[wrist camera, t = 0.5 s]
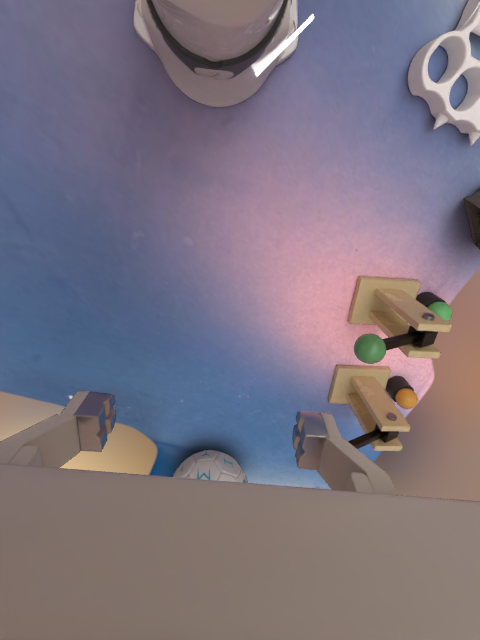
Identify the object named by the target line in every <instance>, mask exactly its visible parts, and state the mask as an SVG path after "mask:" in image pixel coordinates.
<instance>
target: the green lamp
mask: <svg viewBox="0 0 480 640" xmlns="http://www.w3.org/2000/svg"><path fill="white" fill-rule="evenodd" d="M415 300H417V301H418V302H420V303H421V304H422V305H424V306H425V307H427V308H428V309H430V310H431V311H432V312H434V313H435V314H437V315H438V316H439V317H441V318H442V319H444V320H445V321H447V322H448V321H449V320H450V318H451V317H452V309H451V307H450V306H449V305H448V304H446V302H445V301H444V300H442V299H441V298H439V297H438V296H436V295H434V294H433V293H431V292H424V293H421V294H419V295H418V296H417V297H416V299H415Z"/></svg>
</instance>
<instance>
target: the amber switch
mask: <svg viewBox="0 0 480 640" xmlns="http://www.w3.org/2000/svg"><path fill="white" fill-rule="evenodd" d="M398 433H399V431H381V430H380V428H379V427H378V425H377V423H376V425H375V428H374V431H371V432H369V433H367V434H364V435H362V436H360V437H357V438H355V439H353V440H351V441H348V442H349V443H350V444H352V445H353V446H354V447H355V448H356V449H358V448H360V447H363V446H365V445H367V444H369V443H371V442H374V441H376V440H378V439H381V440H382V441H383V442H384V443H387V442H389V441H391V440H393V439H395V438H397V436H398ZM342 439H343V438H342Z"/></svg>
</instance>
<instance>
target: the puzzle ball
mask: <svg viewBox="0 0 480 640" xmlns="http://www.w3.org/2000/svg"><path fill="white" fill-rule="evenodd" d="M244 473H245V472H243V469H242V468H241V466H240V465H239V463H238V462H236V460H235V459H234V458H232V457H231V456H230V455H227V454H225V453H222V452H219V451H214V450H204V451H201V452H198V453H195V454H193V455H192V456H190V457H189V458H187V459H186V460H184V461H183V462H182V463H181V464H180V466H179V467H178V469H177V470H176V472H175V473H174V475H173V477H177V478H189V479H202V480H215V481H227V482H240V483H248V481H247V477H246V475H245V474H244Z"/></svg>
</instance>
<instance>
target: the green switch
mask: <svg viewBox="0 0 480 640" xmlns="http://www.w3.org/2000/svg"><path fill="white" fill-rule="evenodd" d="M437 333H438V331H418V330H416V329H415V328H414V327H412V326H410V327H409V329H408V332H407V333H405V334H401V335H397V336H393V337H389V338H386V339H381V338H380V337H379V336H377V335H375V334H364V335H362V336H360V337H359V338H358V339H357V340H356V342H355V344H354V352H355V355H356V356H357V358H358V359H359V360H360V361H362V362H364V363H368V364H373V363H377V362H379V361H380V360H382V359H383V357H384V356H385V353H386V350H390V349H393V348H397V347H401V346H404V345H408V344H411V343H412V344H414V345H416V346H418V347H420V348H422V347H426V346H429V345H432V344H434V341H435V338H436V336H437Z"/></svg>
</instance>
